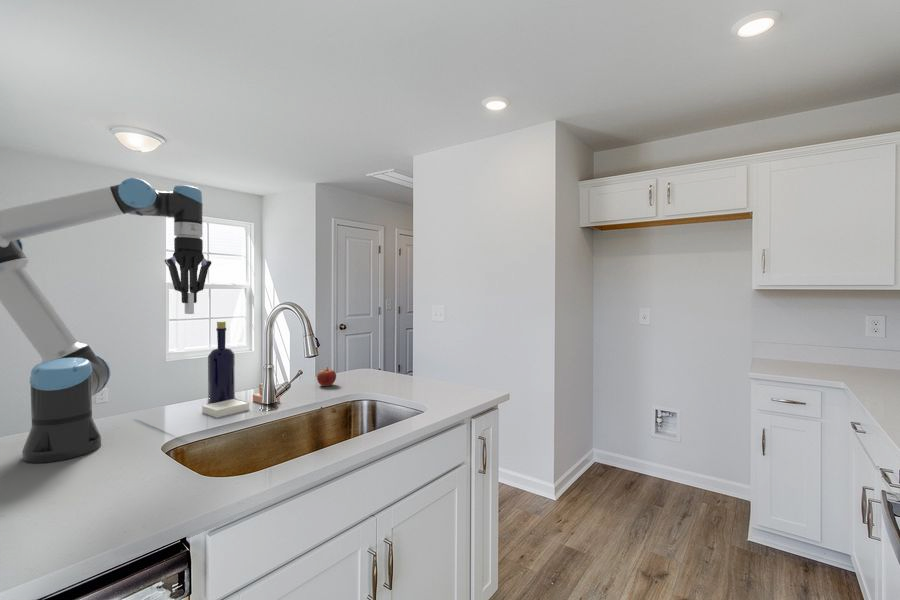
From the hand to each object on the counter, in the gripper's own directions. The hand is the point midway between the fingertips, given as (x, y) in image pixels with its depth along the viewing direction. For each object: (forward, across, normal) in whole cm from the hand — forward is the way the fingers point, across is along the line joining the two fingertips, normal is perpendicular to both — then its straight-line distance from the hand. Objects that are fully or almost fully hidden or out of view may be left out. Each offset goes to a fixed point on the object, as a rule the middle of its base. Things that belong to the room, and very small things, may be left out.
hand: (189, 313), depth 134 cm
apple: (+35, +59, +7) cm, 69 cm away
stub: (+33, +26, 0) cm, 42 cm away
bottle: (+35, +18, +15) cm, 42 cm away
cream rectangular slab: (+33, +12, 0) cm, 35 cm away
